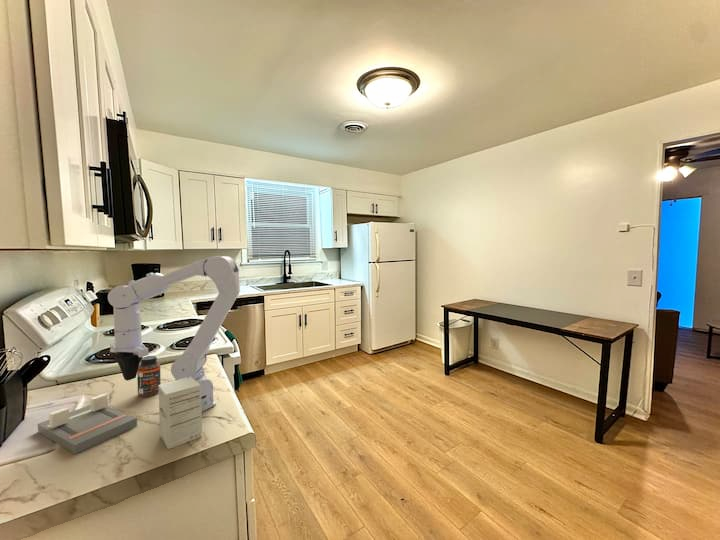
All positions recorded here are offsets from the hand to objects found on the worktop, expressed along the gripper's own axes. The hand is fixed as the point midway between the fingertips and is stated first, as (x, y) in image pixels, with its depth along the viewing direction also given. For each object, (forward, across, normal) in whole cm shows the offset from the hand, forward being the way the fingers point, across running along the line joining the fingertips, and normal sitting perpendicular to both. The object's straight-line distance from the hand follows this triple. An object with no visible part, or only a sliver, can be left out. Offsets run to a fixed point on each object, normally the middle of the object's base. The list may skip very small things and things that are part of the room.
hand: (130, 378), depth 81 cm
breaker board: (+9, -1, -9) cm, 13 cm away
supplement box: (+10, +23, -1) cm, 25 cm away
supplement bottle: (+10, -8, +9) cm, 15 cm away
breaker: (+7, -4, -13) cm, 15 cm away
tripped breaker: (+7, -5, -5) cm, 10 cm away
